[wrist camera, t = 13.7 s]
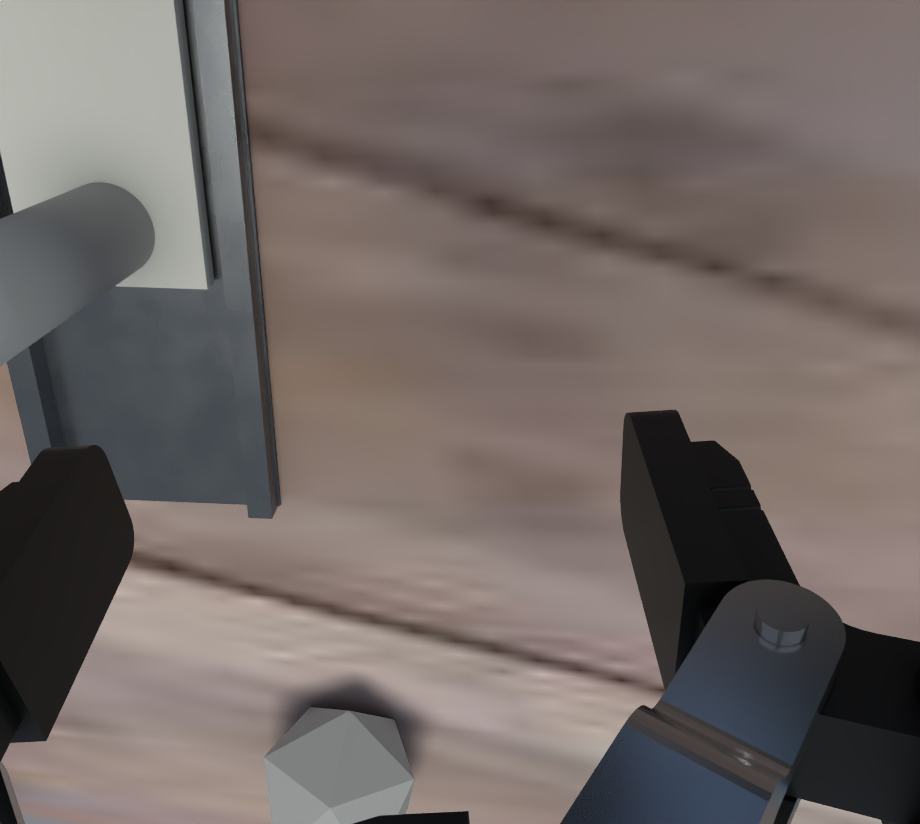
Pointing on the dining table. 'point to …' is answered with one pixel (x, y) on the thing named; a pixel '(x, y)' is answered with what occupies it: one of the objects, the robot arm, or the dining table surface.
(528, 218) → the dining table surface
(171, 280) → the grey post on base
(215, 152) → the track
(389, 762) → the die
